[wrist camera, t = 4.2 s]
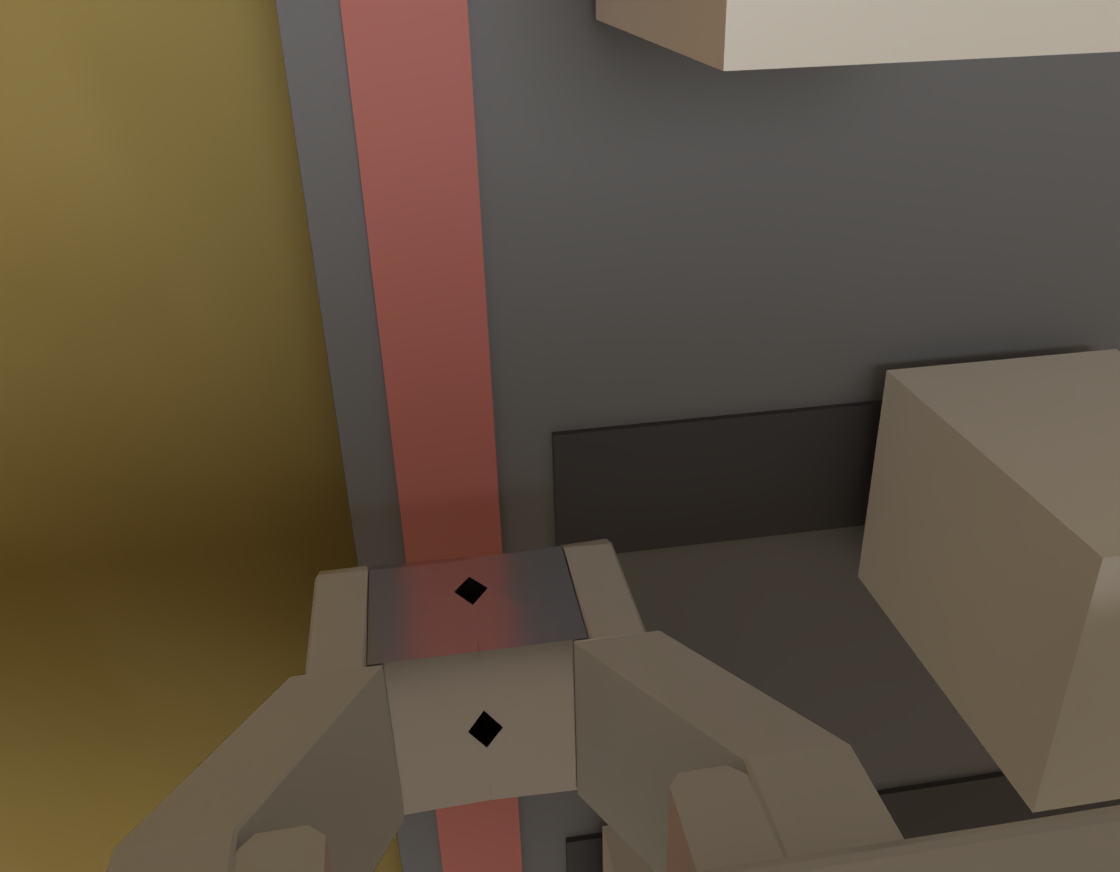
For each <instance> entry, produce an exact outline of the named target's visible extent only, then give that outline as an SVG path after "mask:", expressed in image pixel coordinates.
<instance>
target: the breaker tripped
mask: <svg viewBox="0 0 1120 872" xmlns="http://www.w3.org/2000/svg"><path fill="white" fill-rule="evenodd" d="M858 577H859V579H860V580H861V581H862V583H863V584H864V585H865V587H866V588H867V589H868V591H869V592H870V593H871V595H872V596H873V598H874V599H875V600H876V602H877V603H878V604H879V606H880V607H881V608H882V610H883V611H884V612H885V614H886V615H887V616H888V618H889V619H890V621H891V622H892V623H893V625H894V626H895V627H896V629H897V630H898V631H899V633H900V634H901V635H902V637H903V638H904V639H905V641H906V642H907V644H908V645H909V646H910V648H911V649H912V650H913V652H914V653H915V654H916V656H917V657H918V658H919V660H920V661H921V662H922V664H923V665H924V667H925V668H926V669H927V671H928V672H929V673H930V675H931V676H932V677H933V679H934V680H935V681H936V683H937V684H938V685H939V687H940V688H941V689H942V691H943V692H944V694H945V695H946V696H947V698H948V699H949V700H950V702H951V703H952V704H953V706H954V707H955V708H956V710H957V711H958V712H959V714H960V715H961V717H962V718H963V719H964V721H965V722H966V723H967V725H968V726H969V727H970V729H971V730H972V731H973V733H974V734H975V735H976V737H977V738H978V740H979V741H980V742H981V744H982V745H983V746H984V748H985V749H986V750H987V752H988V753H989V754H990V756H991V757H992V758H993V760H994V761H995V763H996V764H997V765H998V767H999V768H1000V769H1001V771H1002V772H1003V773H1004V775H1005V776H1006V777H1007V779H1008V780H1009V781H1010V783H1011V784H1012V786H1013V787H1014V788H1015V790H1016V791H1017V792H1018V794H1019V795H1020V796H1021V798H1022V799H1023V800H1024V802H1025V803H1026V804H1027V806H1028V807H1029V808H1030V810H1031V811H1032V813H1034V812H1040V811H1046V810H1053V809H1059V808H1065V807H1072V806H1078V805H1084V804H1091V803H1097V802H1103V801H1110V800H1116V799H1120V351H1119V350H1117V349H1110V350H1099V351H1088V352H1077V353H1066V354H1056V355H1045V356H1034V357H1023V358H1012V359H1002V360H991V361H980V362H969V363H959V364H948V365H937V366H926V367H915V368H905V369H894V370H887V371H886V378H885V385H884V393H883V400H882V407H881V414H880V421H879V428H878V436H877V443H876V450H875V457H874V464H873V472H872V479H871V486H870V493H869V500H868V508H867V515H866V522H865V529H864V536H863V544H862V551H861V558H860V565H859V572H858Z"/></svg>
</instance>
